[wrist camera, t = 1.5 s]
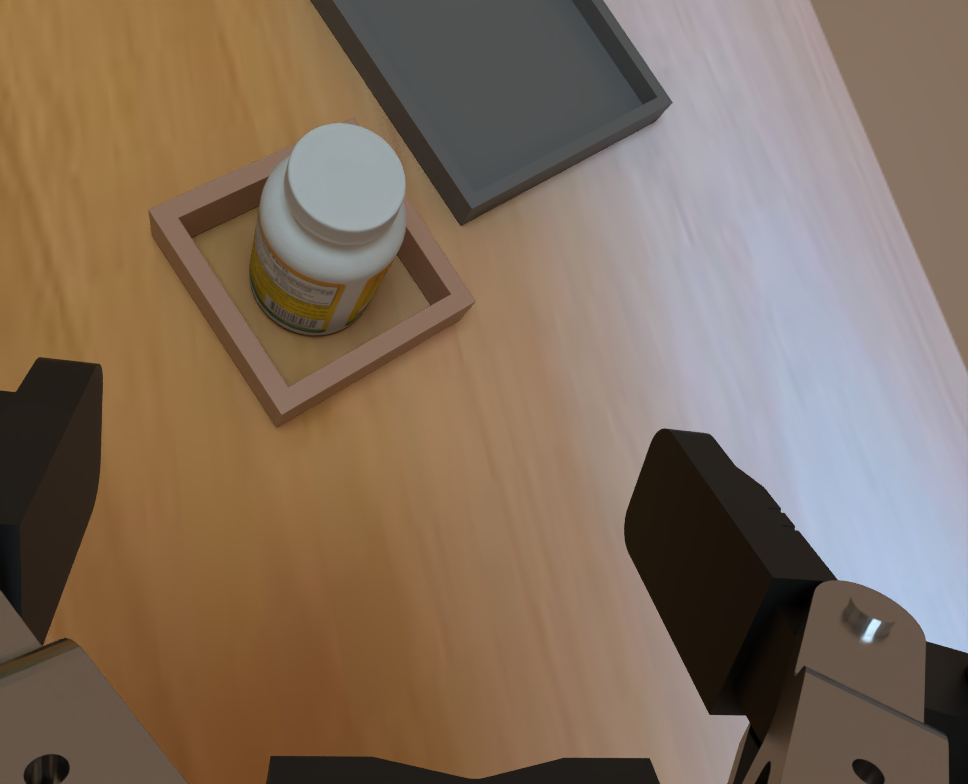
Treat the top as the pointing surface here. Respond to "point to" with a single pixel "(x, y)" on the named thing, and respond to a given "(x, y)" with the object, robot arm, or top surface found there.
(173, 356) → the top surface
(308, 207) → the supplement bottle
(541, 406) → the top surface
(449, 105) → the tray
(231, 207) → the frame
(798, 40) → the top surface
